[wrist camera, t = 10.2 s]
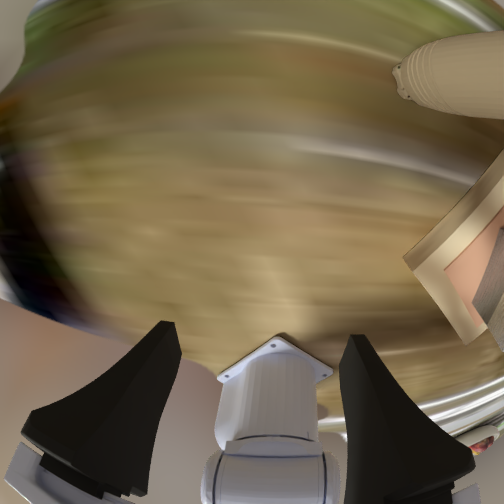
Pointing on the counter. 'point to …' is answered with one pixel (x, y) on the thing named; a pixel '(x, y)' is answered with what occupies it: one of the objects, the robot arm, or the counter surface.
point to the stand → (462, 251)
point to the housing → (493, 292)
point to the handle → (456, 75)
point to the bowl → (479, 438)
